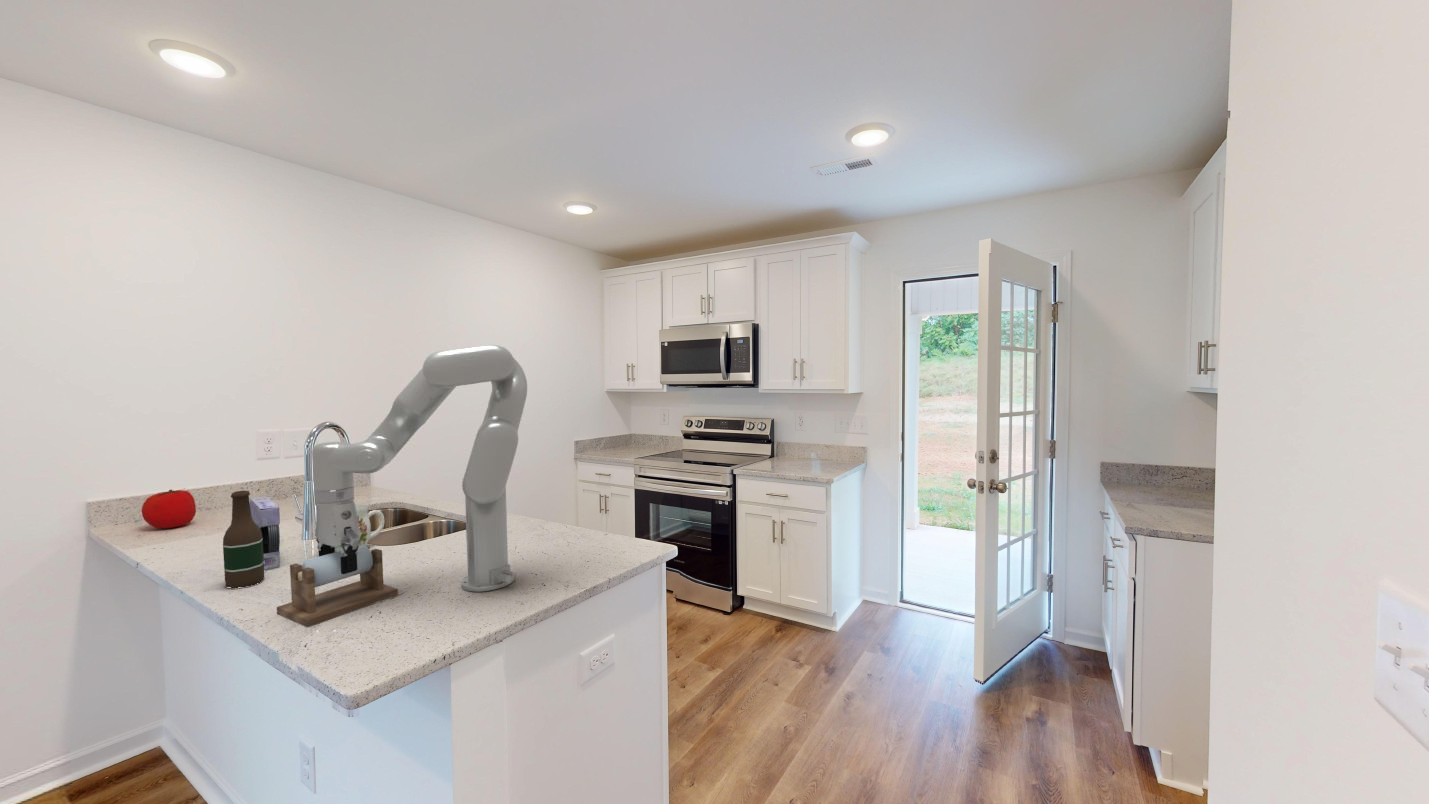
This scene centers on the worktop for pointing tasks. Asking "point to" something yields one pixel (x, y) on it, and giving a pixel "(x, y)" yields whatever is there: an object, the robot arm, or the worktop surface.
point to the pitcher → (366, 524)
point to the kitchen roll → (336, 566)
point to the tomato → (169, 509)
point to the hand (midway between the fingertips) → (338, 568)
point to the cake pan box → (268, 529)
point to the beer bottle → (243, 545)
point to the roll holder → (334, 594)
